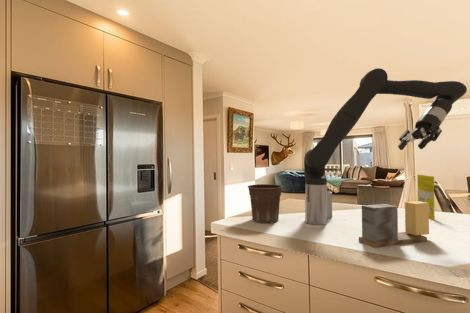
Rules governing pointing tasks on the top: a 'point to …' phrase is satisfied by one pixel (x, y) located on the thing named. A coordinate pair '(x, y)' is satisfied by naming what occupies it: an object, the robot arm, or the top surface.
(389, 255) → the top surface
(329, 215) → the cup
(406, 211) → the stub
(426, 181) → the food package
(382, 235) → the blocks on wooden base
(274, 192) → the plant pot
